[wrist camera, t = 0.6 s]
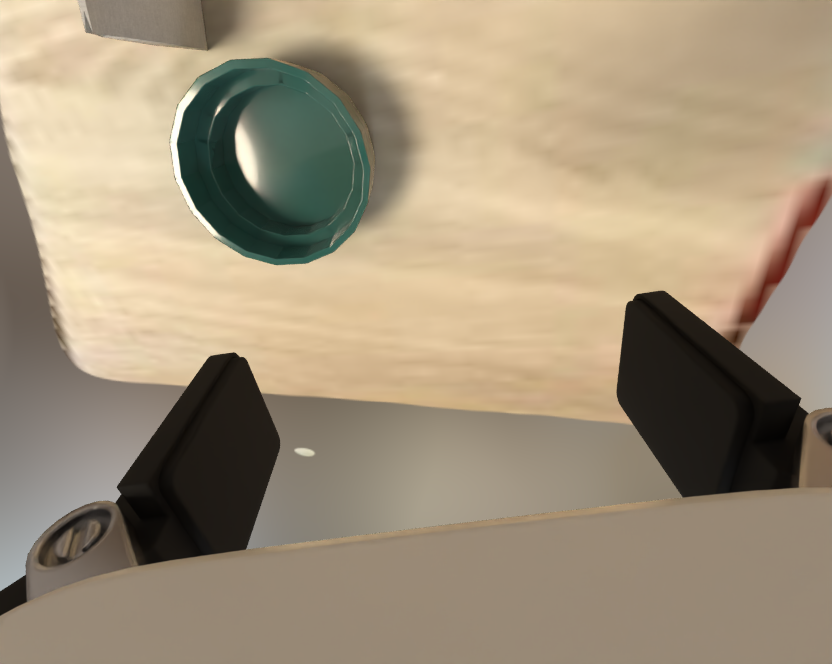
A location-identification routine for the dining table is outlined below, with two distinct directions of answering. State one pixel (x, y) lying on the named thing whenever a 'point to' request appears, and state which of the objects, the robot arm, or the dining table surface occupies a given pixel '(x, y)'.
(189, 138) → the teal faceted bowl
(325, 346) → the dining table surface
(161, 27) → the white juice carton
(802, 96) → the dining table surface
